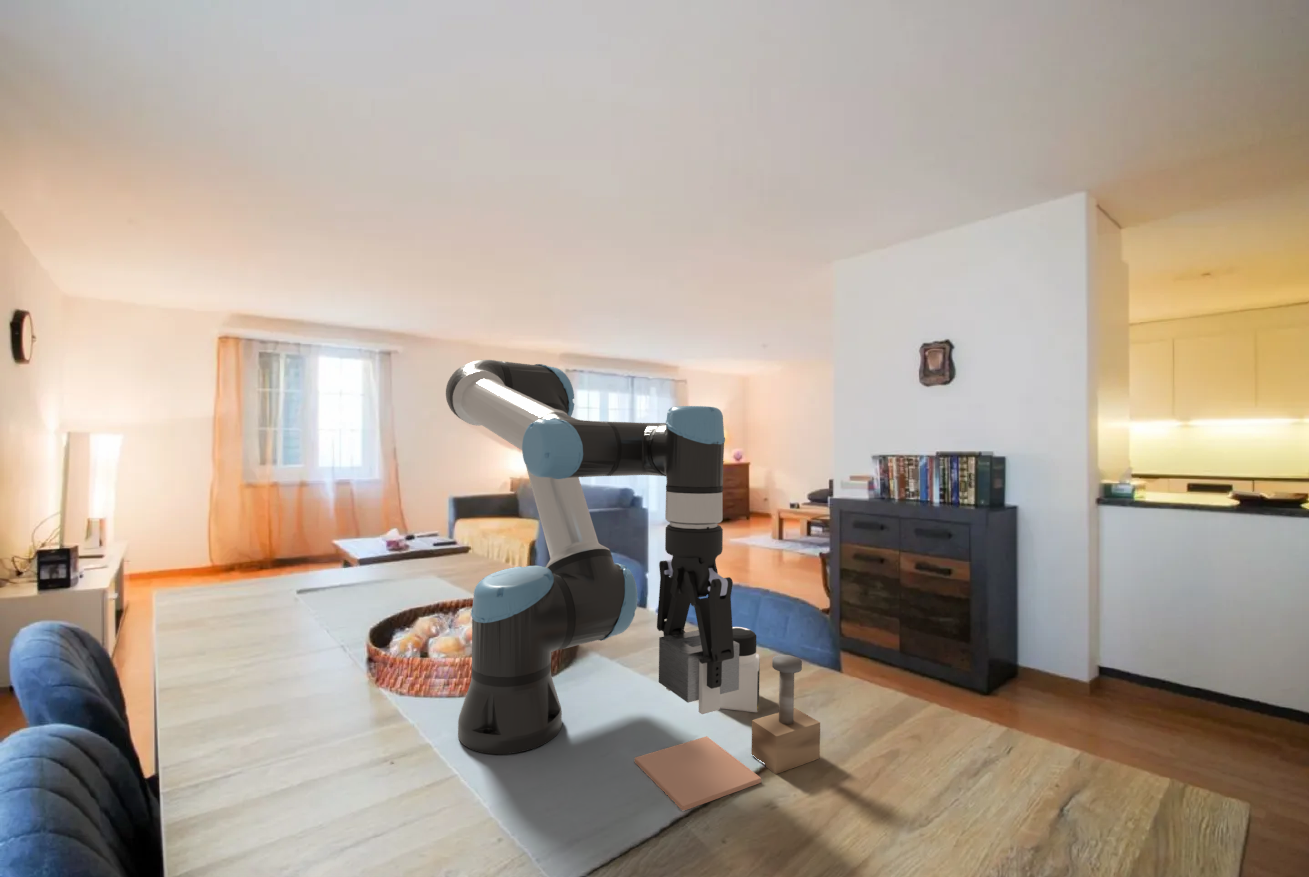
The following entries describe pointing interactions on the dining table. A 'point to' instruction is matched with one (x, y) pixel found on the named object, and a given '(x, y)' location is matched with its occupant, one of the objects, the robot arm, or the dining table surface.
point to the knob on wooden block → (786, 726)
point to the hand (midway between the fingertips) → (691, 698)
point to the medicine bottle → (744, 674)
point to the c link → (691, 665)
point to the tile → (696, 772)
